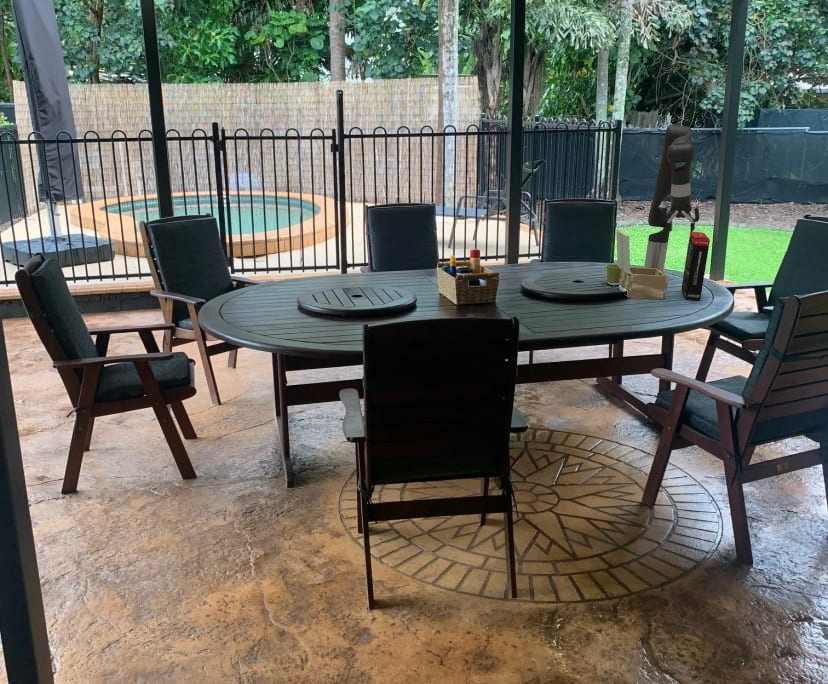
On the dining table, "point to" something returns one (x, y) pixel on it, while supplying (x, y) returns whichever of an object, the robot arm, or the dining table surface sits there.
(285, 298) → the dining table surface
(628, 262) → the box lid
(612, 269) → the plant pot
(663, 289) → the plywood box
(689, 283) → the graphics card box
